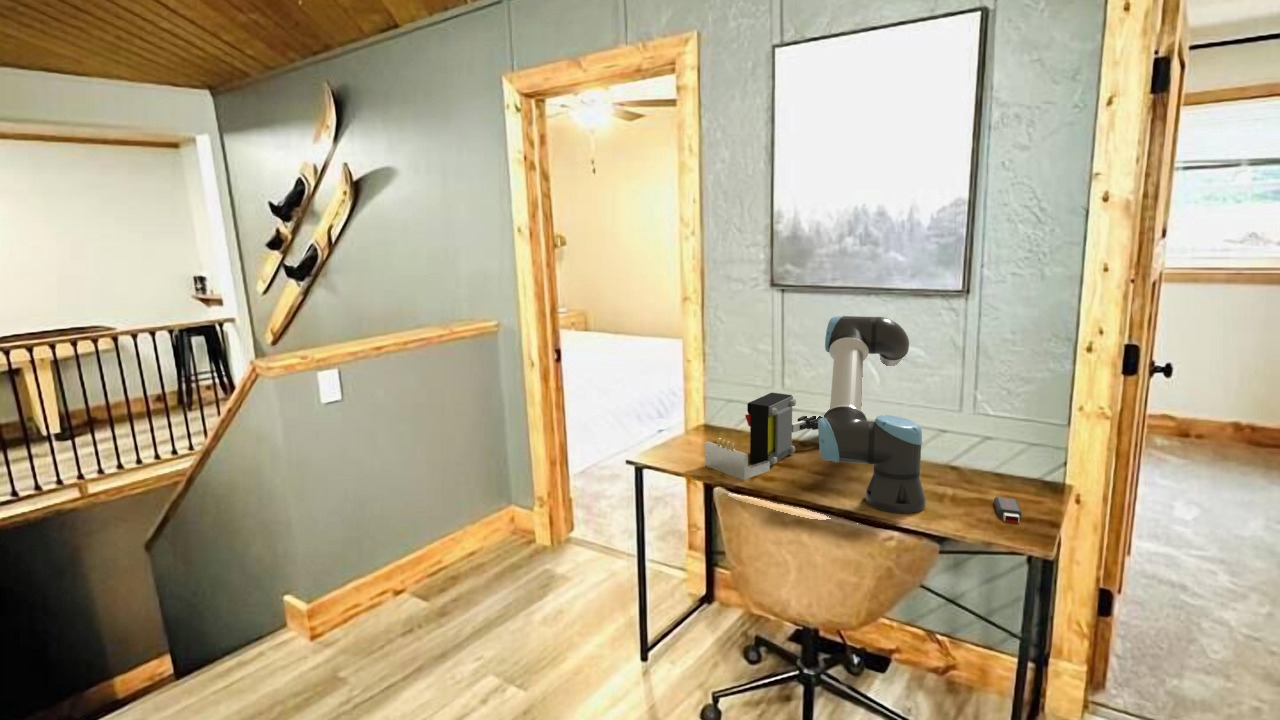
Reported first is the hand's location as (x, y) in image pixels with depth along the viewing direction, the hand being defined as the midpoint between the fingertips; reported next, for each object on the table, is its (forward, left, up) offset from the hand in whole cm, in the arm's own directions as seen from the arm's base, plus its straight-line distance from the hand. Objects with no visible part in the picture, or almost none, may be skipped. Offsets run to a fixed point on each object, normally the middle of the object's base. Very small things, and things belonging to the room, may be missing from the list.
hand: (791, 428), depth 222 cm
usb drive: (-70, -1, -9) cm, 71 cm away
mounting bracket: (-1, +26, -8) cm, 27 cm away
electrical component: (-1, +11, -8) cm, 14 cm away
